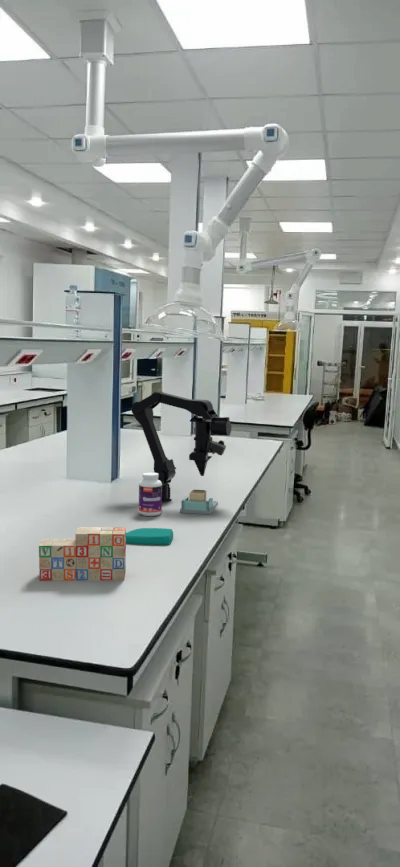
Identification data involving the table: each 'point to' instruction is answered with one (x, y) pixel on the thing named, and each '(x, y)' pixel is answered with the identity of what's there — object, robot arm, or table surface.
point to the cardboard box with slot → (197, 495)
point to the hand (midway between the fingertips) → (202, 475)
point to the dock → (198, 506)
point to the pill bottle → (150, 495)
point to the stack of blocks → (84, 556)
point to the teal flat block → (150, 536)
